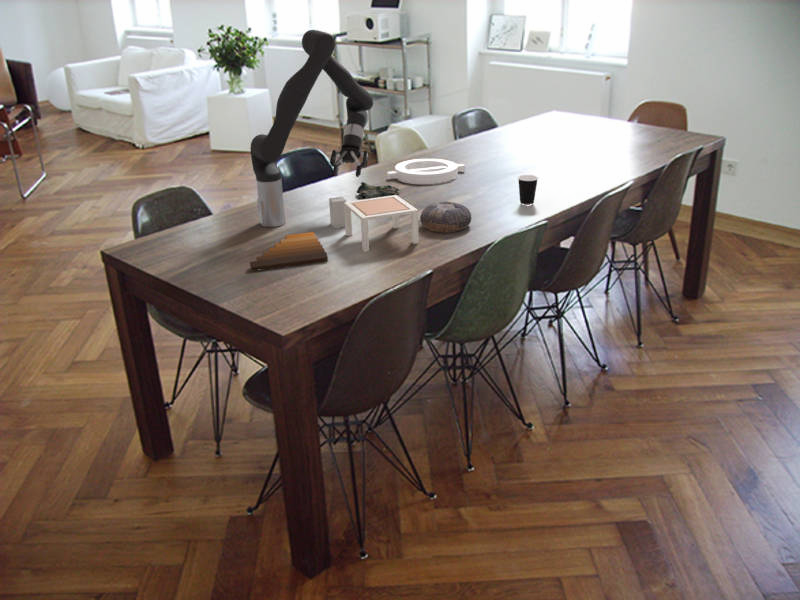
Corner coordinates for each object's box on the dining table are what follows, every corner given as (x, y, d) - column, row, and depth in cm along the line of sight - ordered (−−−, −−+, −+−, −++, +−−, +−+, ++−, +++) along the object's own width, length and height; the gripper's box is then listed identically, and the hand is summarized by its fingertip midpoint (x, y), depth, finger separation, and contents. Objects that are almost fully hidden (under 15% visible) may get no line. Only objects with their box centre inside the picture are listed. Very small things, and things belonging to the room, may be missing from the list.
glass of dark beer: (541, 205, 306) (542, 177, 301) (526, 208, 302) (527, 181, 297) (527, 200, 312) (528, 173, 307) (512, 204, 308) (513, 177, 303)
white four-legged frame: (364, 251, 263) (362, 218, 258) (345, 234, 280) (343, 202, 275) (418, 243, 270) (417, 209, 265) (397, 226, 287) (396, 194, 282)
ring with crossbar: (467, 172, 356) (467, 161, 354) (441, 187, 333) (441, 177, 331) (412, 166, 368) (412, 156, 366) (384, 181, 345) (384, 170, 343)
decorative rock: (385, 177, 335) (408, 181, 324) (385, 191, 337) (408, 196, 326) (350, 183, 323) (373, 188, 312) (351, 198, 325) (374, 203, 314)
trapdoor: (367, 218, 261) (367, 215, 261) (353, 205, 274) (352, 203, 274) (408, 212, 266) (408, 209, 266) (392, 200, 279) (392, 197, 279)
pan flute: (251, 273, 250) (328, 263, 256) (250, 263, 248) (327, 253, 255) (243, 248, 271) (313, 239, 278) (242, 239, 270) (312, 230, 276)
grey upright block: (334, 228, 287) (333, 202, 283) (330, 224, 291) (329, 198, 287) (347, 226, 289) (346, 200, 284) (343, 222, 293) (341, 196, 289)
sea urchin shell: (482, 224, 285) (480, 199, 280) (448, 245, 275) (445, 220, 270) (445, 212, 297) (442, 189, 292) (411, 233, 287) (407, 208, 282)
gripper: (332, 133, 297) (325, 170, 292) (368, 133, 294) (362, 171, 289) (337, 143, 304) (330, 180, 299) (372, 144, 301) (366, 181, 296)
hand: (346, 175), depth 294 cm, fingers open, 8 cm apart
